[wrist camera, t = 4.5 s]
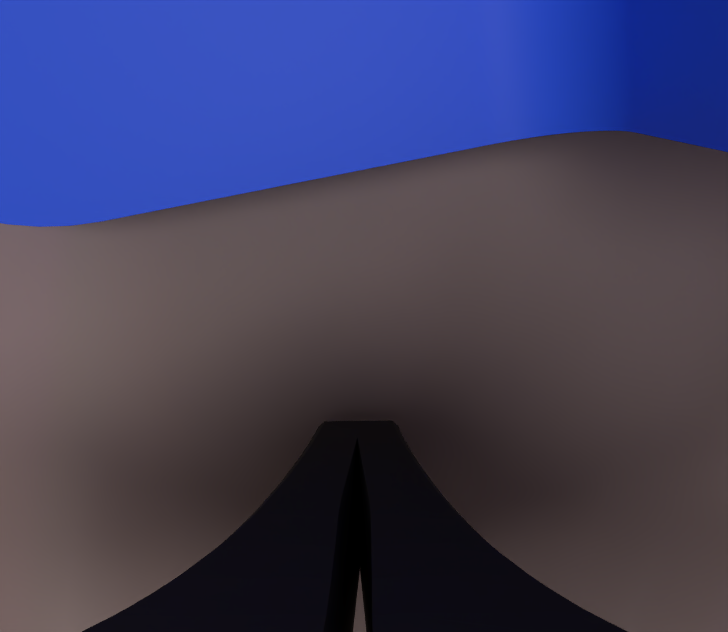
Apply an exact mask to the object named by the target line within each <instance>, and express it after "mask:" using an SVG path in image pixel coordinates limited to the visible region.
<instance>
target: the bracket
mask: <svg viewBox="0 0 728 632" xmlns="http://www.w3.org/2000/svg"><path fill="white" fill-rule="evenodd" d="M585 131H630V132H636V133H641V134H645V135H650V136H655V137H659V138H664V139H669V140H674V141H678V142H683V143H688V144H692V145H697V146H702V147H706V148H711V149H716V150H721V151H725V152H728V0H0V223H4V224H12V225H25V226H38V227H42V226H72V225H79V224H86V223H94V222H101V221H106V220H111V219H116V218H121V217H126V216H131V215H136V214H141V213H147V212H152V211H157V210H162V209H167V208H172V207H177V206H182V205H187V204H192V203H197V202H202V201H207V200H212V199H217V198H222V197H228V196H233V195H238V194H243V193H248V192H253V191H258V190H263V189H268V188H273V187H278V186H283V185H288V184H293V183H298V182H303V181H308V180H314V179H319V178H324V177H329V176H334V175H339V174H344V173H349V172H354V171H359V170H364V169H369V168H374V167H379V166H384V165H389V164H395V163H400V162H405V161H410V160H415V159H420V158H425V157H430V156H435V155H440V154H445V153H450V152H455V151H460V150H465V149H470V148H475V147H481V146H486V145H491V144H496V143H501V142H507V141H512V140H518V139H524V138H531V137H538V136H545V135H553V134H562V133H572V132H585Z"/></svg>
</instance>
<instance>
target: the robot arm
mask: <svg viewBox="0 0 728 632" xmlns="http://www.w3.org/2000/svg"><path fill="white" fill-rule="evenodd" d="M359 571H361V582H362V591H363V601H364V611H365V621H366V631H367V632H627V631H625V630H623V629H621V628H619V627H617V626H615V625H613V624H611V623H609V622H607V621H605V620H604V619H602V618H600V617H598V616H596V615H594V614H592V613H590V612H588V611H586V610H584V609H582V608H581V607H579V606H577V605H576V604H574V603H572V602H571V601H569V600H567V599H566V598H564V597H562V596H561V595H559V594H558V593H556V592H554V591H553V590H551V589H549V588H548V587H546V586H545V585H543V584H542V583H540V582H539V581H537V580H536V579H534V578H533V577H531V576H530V575H529V574H527V573H526V572H525V571H523V570H522V569H521V568H519V567H518V566H517V565H515V564H514V563H513V562H511V561H510V560H509V559H507V558H506V557H505V556H503V555H502V554H501V553H499V552H498V551H497V550H496V549H495V548H493V547H492V546H491V545H490V544H489V543H488V542H487V541H486V540H484V539H483V538H482V537H481V536H480V535H479V534H478V533H477V532H476V531H475V530H474V529H473V528H472V527H471V526H470V525H469V524H468V523H467V522H466V521H465V520H464V519H463V518H462V517H461V516H460V515H459V514H458V512H457V511H456V510H455V509H454V508H453V507H452V506H451V504H450V503H449V502H448V501H447V500H446V499H445V498H444V496H443V495H442V494H441V493H440V491H439V490H438V489H437V488H436V486H435V485H434V484H433V482H432V481H431V480H430V478H429V477H428V476H427V474H426V473H425V471H424V470H423V469H422V467H421V466H420V464H419V463H418V461H417V460H416V458H415V457H414V455H413V454H412V452H411V450H410V449H409V447H408V445H407V444H406V442H405V440H404V438H403V436H402V434H401V432H400V430H399V427H398V426H397V425H396V424H395V423H394V422H393V421H331V422H324V423H323V424H321V425H320V426H319V427H318V429H317V431H316V433H315V435H314V436H313V438H312V440H311V441H310V443H309V444H308V446H307V448H306V449H305V451H304V452H303V453H302V455H301V456H300V458H299V459H298V461H297V462H296V463H295V465H294V466H293V467H292V469H291V470H290V471H289V473H288V474H287V475H286V476H285V478H284V479H283V480H282V482H281V483H280V484H279V485H278V487H277V488H276V489H275V490H274V491H273V492H272V493H271V495H270V496H269V497H268V498H267V499H266V500H265V501H264V502H263V504H262V505H261V506H260V507H259V508H258V509H257V510H256V511H255V512H254V514H253V515H252V516H251V517H250V518H249V519H248V520H247V521H246V522H245V523H244V524H243V525H242V526H240V527H239V528H238V529H237V530H236V531H235V532H234V533H233V534H232V535H231V536H230V537H229V538H227V539H226V540H225V541H224V542H223V543H222V544H221V545H220V546H218V547H217V548H216V549H215V550H213V551H212V552H211V553H209V554H208V555H207V556H205V557H204V558H203V559H201V560H200V561H199V562H197V563H196V564H195V565H193V566H192V567H191V568H189V569H188V570H187V571H185V572H184V573H183V574H181V575H180V576H178V577H177V578H175V579H174V580H172V581H171V582H169V583H168V584H166V585H165V586H163V587H161V588H160V589H158V590H157V591H155V592H154V593H152V594H150V595H149V596H147V597H145V598H144V599H142V600H140V601H139V602H137V603H135V604H134V605H132V606H130V607H128V608H127V609H125V610H123V611H121V612H119V613H118V614H116V615H114V616H112V617H110V618H108V619H106V620H104V621H102V622H100V623H98V624H96V625H94V626H92V627H90V628H88V629H86V630H84V631H82V632H353V625H354V616H355V607H356V598H357V589H358V580H359Z"/></svg>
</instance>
